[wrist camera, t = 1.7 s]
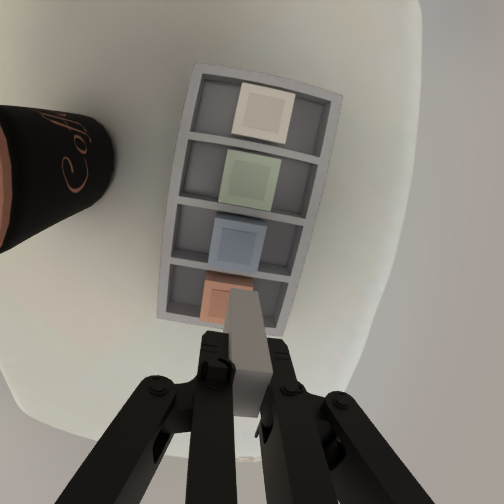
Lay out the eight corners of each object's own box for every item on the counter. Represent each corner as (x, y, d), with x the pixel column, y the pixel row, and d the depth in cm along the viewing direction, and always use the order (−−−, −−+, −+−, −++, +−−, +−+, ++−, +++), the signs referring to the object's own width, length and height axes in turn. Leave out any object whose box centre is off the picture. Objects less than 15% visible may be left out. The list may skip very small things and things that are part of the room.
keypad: (198, 71, 25) (194, 62, 22) (331, 100, 27) (343, 95, 23) (162, 302, 33) (156, 318, 30) (278, 320, 35) (282, 336, 32)
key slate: (216, 211, 27) (215, 218, 25) (264, 220, 28) (267, 227, 26) (209, 257, 29) (207, 266, 26) (254, 264, 29) (256, 274, 27)
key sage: (228, 149, 25) (227, 149, 23) (277, 158, 26) (282, 159, 24) (219, 197, 27) (217, 202, 25) (267, 206, 28) (270, 211, 25)
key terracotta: (207, 269, 29) (204, 280, 27) (251, 277, 30) (253, 288, 27) (201, 308, 31) (199, 321, 28) (243, 314, 31) (244, 328, 29)
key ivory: (241, 88, 24) (242, 82, 21) (290, 98, 24) (296, 93, 22) (231, 134, 25) (231, 132, 23) (280, 144, 26) (285, 144, 23)
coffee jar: (133, 182, 28) (29, 227, 11) (63, 224, 29) (-42, 290, 12) (98, 97, 25) (-17, 67, 8) (32, 147, 25) (-83, 166, 9)
